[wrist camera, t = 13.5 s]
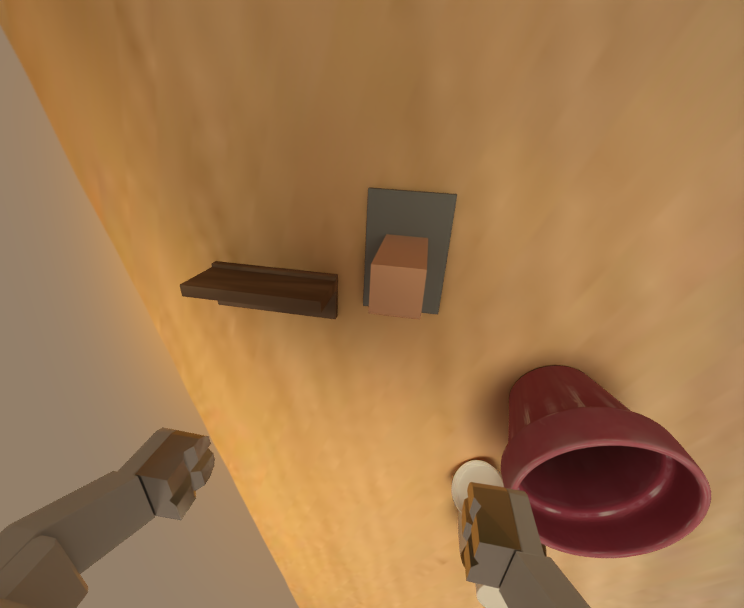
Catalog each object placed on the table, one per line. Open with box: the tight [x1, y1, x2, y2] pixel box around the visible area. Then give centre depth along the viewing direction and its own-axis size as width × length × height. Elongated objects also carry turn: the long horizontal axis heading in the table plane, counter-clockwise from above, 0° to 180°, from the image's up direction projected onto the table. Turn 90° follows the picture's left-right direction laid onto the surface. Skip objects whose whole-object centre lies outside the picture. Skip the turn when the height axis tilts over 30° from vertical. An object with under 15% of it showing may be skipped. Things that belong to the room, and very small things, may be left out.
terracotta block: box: [369, 234, 428, 319], centre depth 28 cm, size 4×4×9 cm
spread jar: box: [452, 460, 547, 608], centre depth 40 cm, size 12×11×12 cm
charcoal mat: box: [363, 188, 457, 314], centre depth 33 cm, size 12×8×1 cm, turn 177°
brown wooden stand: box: [180, 261, 338, 319], centre depth 34 cm, size 5×14×6 cm, turn 87°
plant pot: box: [501, 366, 711, 558], centre depth 32 cm, size 14×14×13 cm
